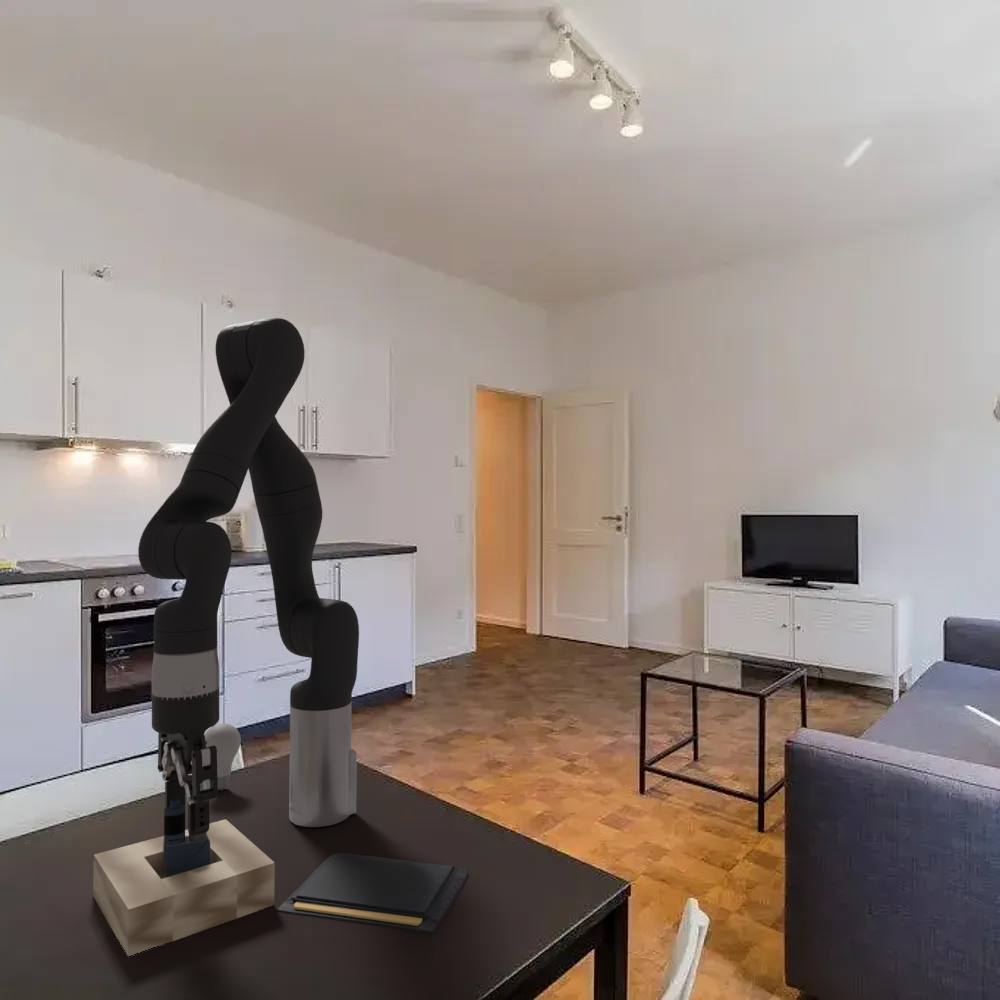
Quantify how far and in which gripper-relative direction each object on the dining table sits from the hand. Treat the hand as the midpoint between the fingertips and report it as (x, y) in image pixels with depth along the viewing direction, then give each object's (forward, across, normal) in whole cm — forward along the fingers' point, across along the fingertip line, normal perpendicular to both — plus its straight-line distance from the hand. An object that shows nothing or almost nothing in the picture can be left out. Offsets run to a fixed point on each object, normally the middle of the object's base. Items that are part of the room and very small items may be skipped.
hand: (186, 821), depth 89 cm
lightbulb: (+10, +32, -16) cm, 37 cm away
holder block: (+9, 0, 0) cm, 9 cm away
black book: (+10, -13, -19) cm, 25 cm away
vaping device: (+10, 0, 0) cm, 10 cm away
